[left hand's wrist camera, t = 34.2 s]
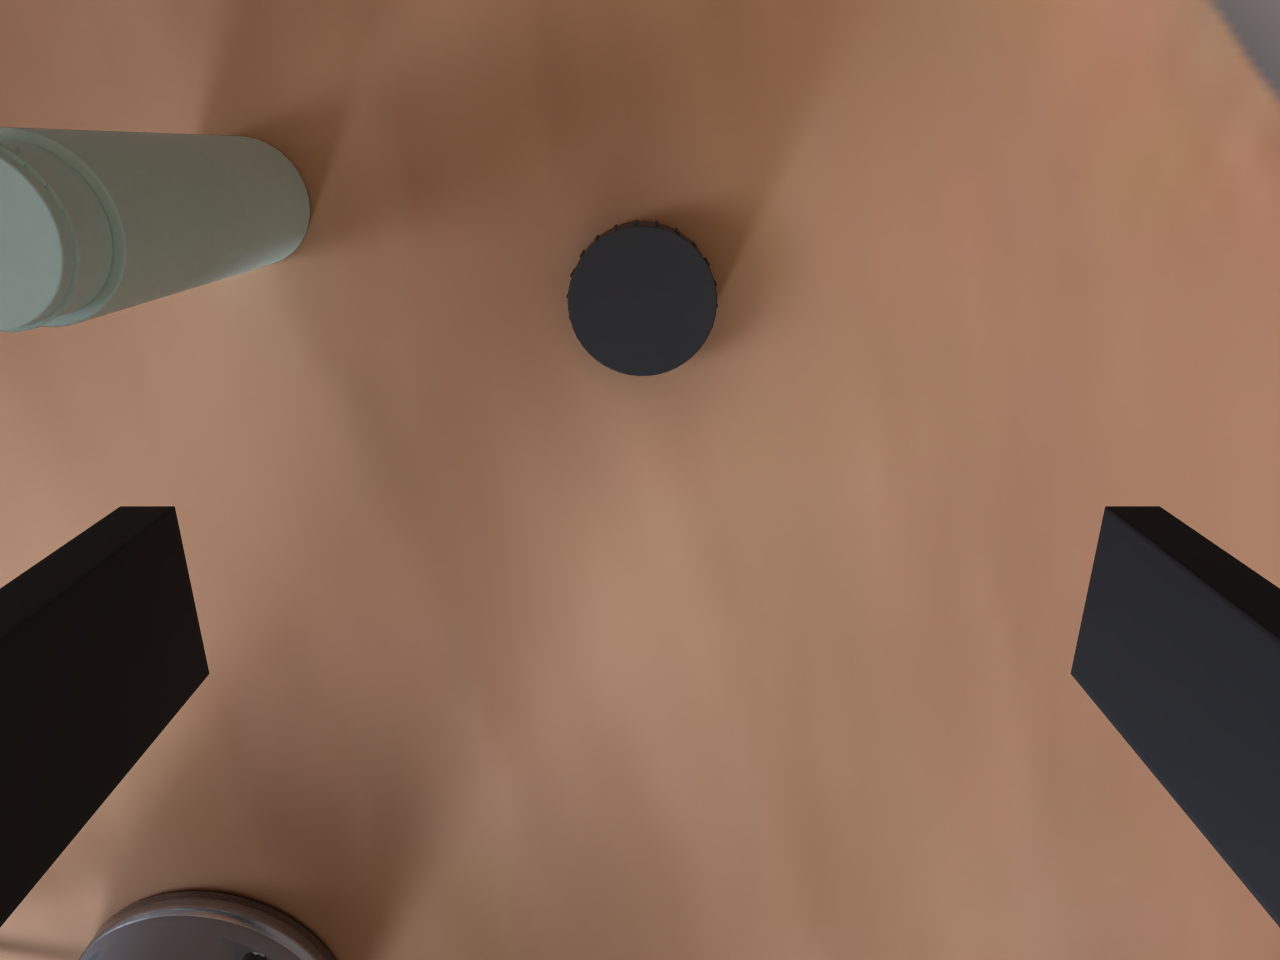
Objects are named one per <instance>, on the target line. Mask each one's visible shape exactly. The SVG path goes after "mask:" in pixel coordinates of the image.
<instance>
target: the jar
mask: <svg viewBox="0 0 1280 960" xmlns="http://www.w3.org/2000/svg"><path fill="white" fill-rule="evenodd" d="M309 218H310V204H309V197H308V193H307V190H306V187H305V184H304V182H303V180H302V178H301V176H300V174H299V172H298V171H297V169H296V168H295V166H294V165H293V164H292V163H291V161H290V160H289V159H288V158H287V157H286V156H285V155H284V154H282V153H281V152H280V151H279V150H277V149H276V148H274V147H273V146H271V145H269V144H268V143H265V142H263V141H261V140H258V139H255V138H251V137H245V136H225V135H198V134H171V133H144V132H118V131H91V130H64V129H37V128H10V127H0V331H4V332H18V331H23V330H29V329H35V328H38V327H39V326H42V327H60V326H68V325H72V324H76V323H80V322H83V321H86V320H89V319H93V318H96V317H99V316H102V315H106V314H109V313H112V312H116V311H119V310H122V309H125V308H129V307H132V306H135V305H138V304H142V303H145V302H148V301H152V300H155V299H158V298H161V297H165V296H168V295H171V294H174V293H178V292H181V291H184V290H187V289H191V288H194V287H197V286H201V285H204V284H207V283H210V282H214V281H217V280H220V279H223V278H227V277H230V276H233V275H236V274H240V273H243V272H246V271H250V270H253V269H256V268H259V267H263V266H266V265H269V264H272V263H275V262H278V261H280V260H282V259H284V258H286V257H287V256H289V255H290V254H291V253H292V252H294V251H295V249H296V248H297V247H298V246H299V245H300V243H301V242H302V240H303V238H304V236H305V234H306V231H307V228H308V225H309Z"/></svg>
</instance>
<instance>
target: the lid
mask: <svg viewBox="0 0 1280 960" xmlns="http://www.w3.org/2000/svg"><path fill="white" fill-rule="evenodd" d="M580 257H581V259H580V261H579V262H578V264H577V266H576V268H575V269H574V270H573V271H572V273H571V276H570V277H572V278H571V281H570V286H569V292H568V294H567V298H568V311H569V319H570V321H571V324H572V327H573V330H574V332H575V334H576V336H577V338H578V340H579V341H580V343H581V344H582V346H583V347H584V348H585V349H586V350H587V352H588V353H589V354H590V355H591V356H592V357H593V358H595V359H596V360H597V361H598V362H600V363H601V364H603V365H604V366H606V367H608V368H610V369H612V370H614V371H617V372H620V373H623V374H628V375H635V376H651V375H657V374H661V373H665V372H668V371H670V370H672V369H675V368H677V367H678V366H680V365H682V364H683V363H685V362H686V361H687V360H689V359H690V358H691V357H692V356H693V355H694V354H695V353H696V352H697V351H698V350H699V349H700V348H701V346H702V345H703V344H704V342H705V341H706V339H707V337H708V335H709V333H710V331H711V329H712V327H713V323H714V319H715V315H716V308H717V307H718V305H717V294H716V286H717V284H716V282H715V280H714V278H713V276H712V273H711V271H710V268H709V265H710V264H709V262H708V261H707V259H706V258H703V256H702V254H701V253H700V251H699V250H698V249H697V245H696V244H695V242H694V241H692V242H691V241H690V240H689V239H688V238H687V237H685V236H684V235H683V234H681V233H680V232H679V230H678V229H677V228H676V229H673V228H670V227H668V226H665V225H662V224H659V222H658V221H656V223H654V222H645V221H644V222H638V220H635V222H631V223H626V224H622V225H619V226H617V224H616V225H614V228H612V229H610V230H608V231H606V232H605V233H603V234H602V235H600V236H599V235H597V236H596V238H595V241H593V242H592V244H591V245H590V246H589V247H588V248H587V249H586V251H585V250H583V252H582V253H581V255H580Z"/></svg>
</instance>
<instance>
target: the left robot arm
mask: <svg viewBox="0 0 1280 960" xmlns="http://www.w3.org/2000/svg"><path fill="white" fill-rule="evenodd" d="M208 675H209V670H208V665H207V661H206V656H205V651H204V646H203V641H202V636H201V631H200V627H199V622H198V617H197V612H196V607H195V602H194V598H193V593H192V588H191V583H190V578H189V573H188V569H187V564H186V559H185V554H184V549H183V544H182V540H181V535H180V530H179V525H178V520H177V515H176V511H175V507H119V508H117V509H116V510H115V511H113V512H112V513H110V514H109V515H107V516H106V517H104V518H103V519H101V520H100V521H98V522H97V523H96V524H94V525H93V526H91V527H90V528H88V529H87V530H85V531H84V532H82V533H81V534H79V535H78V536H77V537H75V538H74V539H72V540H71V541H69V542H68V543H66V544H65V545H63V546H62V547H60V548H59V549H58V550H56V551H55V552H53V553H52V554H50V555H49V556H47V557H46V558H44V559H43V560H41V561H40V562H39V563H37V564H36V565H34V566H33V567H31V568H30V569H28V570H27V571H25V572H24V573H22V574H21V575H20V576H18V577H17V578H15V579H14V580H12V581H11V582H9V583H8V584H6V585H5V586H3V587H2V588H1V589H0V927H1V926H2V925H3V923H4V922H5V921H6V920H7V919H8V917H9V916H10V915H11V914H12V912H13V911H14V910H15V909H16V908H17V906H18V905H19V904H20V903H21V902H22V900H23V899H24V898H25V897H26V895H27V894H28V893H29V892H30V891H31V889H32V888H33V887H34V886H35V885H36V883H37V882H38V881H39V880H40V878H41V877H42V876H43V875H44V874H45V872H46V871H47V870H48V869H49V868H50V866H51V865H52V864H53V863H54V861H55V860H56V859H57V858H58V857H59V855H60V854H61V853H62V852H63V851H64V849H65V848H66V847H67V846H68V845H69V843H70V842H71V841H72V840H73V838H74V837H75V836H76V835H77V834H78V832H79V831H80V830H81V829H82V828H83V826H84V825H85V824H86V823H87V821H88V820H89V819H90V818H91V817H92V815H93V814H94V813H95V812H96V811H97V809H98V808H99V807H100V806H101V804H102V803H103V802H104V801H105V800H106V798H107V797H108V796H109V795H110V794H111V792H112V791H113V790H114V789H115V787H116V786H117V785H118V784H119V783H120V781H121V780H122V779H123V778H124V777H125V775H126V774H127V773H128V772H129V770H130V769H131V768H132V767H133V766H134V764H135V763H136V762H137V761H138V760H139V758H140V757H141V756H142V755H143V753H144V752H145V751H146V750H147V749H148V747H149V746H150V745H151V744H152V743H153V741H154V740H155V739H156V738H157V737H158V735H159V734H160V733H161V732H162V730H163V729H164V728H165V727H166V726H167V724H168V723H169V722H170V721H171V720H172V718H173V717H174V716H175V715H176V713H177V712H178V711H179V710H180V709H181V707H182V706H183V705H184V704H185V703H186V701H187V700H188V699H189V698H190V696H191V695H192V694H193V693H194V692H195V690H196V689H197V688H198V687H199V686H200V684H201V683H202V682H203V681H204V679H205V678H206V677H207V676H208ZM1071 675H1072V676H1073V677H1074V678H1075V679H1076V681H1077V682H1078V683H1079V684H1080V686H1081V687H1082V688H1083V689H1084V690H1085V692H1086V693H1087V694H1088V695H1089V696H1090V698H1091V699H1092V700H1093V701H1094V703H1095V704H1096V705H1097V706H1098V707H1099V709H1100V710H1101V711H1102V712H1103V713H1104V715H1105V716H1106V717H1107V718H1108V720H1109V721H1110V722H1111V723H1112V724H1113V726H1114V727H1115V728H1116V729H1117V730H1118V732H1119V733H1120V734H1121V735H1122V737H1123V738H1124V739H1125V740H1126V741H1127V743H1128V744H1129V745H1130V746H1131V747H1132V749H1133V750H1134V751H1135V752H1136V753H1137V755H1138V756H1139V757H1140V758H1141V760H1142V761H1143V762H1144V763H1145V764H1146V766H1147V767H1148V768H1149V769H1150V770H1151V772H1152V773H1153V774H1154V775H1155V777H1156V778H1157V779H1158V780H1159V781H1160V783H1161V784H1162V785H1163V786H1164V787H1165V789H1166V790H1167V791H1168V792H1169V794H1170V795H1171V796H1172V797H1173V798H1174V800H1175V801H1176V802H1177V803H1178V804H1179V806H1180V807H1181V808H1182V809H1183V811H1184V812H1185V813H1186V814H1187V815H1188V817H1189V818H1190V819H1191V820H1192V821H1193V823H1194V824H1195V825H1196V826H1197V828H1198V829H1199V830H1200V831H1201V832H1202V834H1203V835H1204V836H1205V837H1206V838H1207V840H1208V841H1209V842H1210V843H1211V845H1212V846H1213V847H1214V848H1215V849H1216V851H1217V852H1218V853H1219V854H1220V855H1221V857H1222V858H1223V859H1224V860H1225V861H1226V863H1227V864H1228V865H1229V866H1230V868H1231V869H1232V870H1233V871H1234V872H1235V874H1236V875H1237V876H1238V877H1239V878H1240V880H1241V881H1242V882H1243V883H1244V885H1245V886H1246V887H1247V888H1248V889H1249V891H1250V892H1251V893H1252V894H1253V895H1254V897H1255V898H1256V899H1257V900H1258V902H1259V903H1260V904H1261V905H1262V906H1263V908H1264V909H1265V910H1266V911H1267V912H1268V914H1269V915H1270V916H1271V917H1272V919H1273V920H1274V921H1275V922H1276V923H1277V925H1278V926H1279V927H1280V589H1279V588H1278V587H1277V586H1275V585H1274V584H1272V583H1271V582H1269V581H1268V580H1266V579H1265V578H1263V577H1262V576H1260V575H1259V574H1258V573H1256V572H1255V571H1253V570H1252V569H1250V568H1249V567H1247V566H1246V565H1244V564H1243V563H1241V562H1240V561H1239V560H1237V559H1236V558H1234V557H1233V556H1231V555H1230V554H1228V553H1227V552H1225V551H1224V550H1222V549H1221V548H1220V547H1218V546H1217V545H1215V544H1214V543H1212V542H1211V541H1209V540H1208V539H1206V538H1205V537H1203V536H1202V535H1201V534H1199V533H1198V532H1196V531H1195V530H1193V529H1192V528H1190V527H1189V526H1187V525H1186V524H1184V523H1183V522H1182V521H1180V520H1179V519H1177V518H1176V517H1174V516H1173V515H1171V514H1170V513H1168V512H1167V511H1165V510H1164V509H1163V508H1161V507H1105V511H1104V515H1103V520H1102V525H1101V530H1100V535H1099V540H1098V544H1097V549H1096V554H1095V559H1094V564H1093V569H1092V573H1091V578H1090V583H1089V588H1088V593H1087V598H1086V602H1085V607H1084V612H1083V617H1082V622H1081V627H1080V631H1079V636H1078V641H1077V646H1076V651H1075V656H1074V661H1073V665H1072V670H1071ZM79 960H334V959H333V958H332V956H331V955H330V953H329V952H328V950H327V949H326V948H325V947H324V946H323V944H322V943H321V942H320V941H319V940H318V939H317V938H316V937H315V936H314V935H313V934H312V933H310V932H309V931H308V930H307V929H305V928H304V927H303V926H302V925H300V924H299V923H297V922H296V921H294V920H293V919H291V918H290V917H288V916H286V915H284V914H283V913H281V912H279V911H277V910H275V909H273V908H271V907H268V906H266V905H263V904H261V903H258V902H255V901H252V900H249V899H246V898H242V897H238V896H234V895H229V894H223V893H216V892H206V891H184V892H173V893H166V894H161V895H157V896H152V897H149V898H146V899H143V900H140V901H138V902H136V903H133V904H131V905H129V906H127V907H126V908H124V909H122V910H121V911H119V912H118V913H116V914H115V915H113V916H112V917H111V918H110V919H109V920H108V921H107V922H106V923H105V924H104V925H103V926H102V927H101V928H100V930H99V931H98V932H97V934H96V935H95V937H94V938H93V940H92V941H91V943H90V944H89V945H88V947H87V948H86V950H85V951H84V953H83V954H82V956H81V957H80V959H79Z"/></svg>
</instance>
